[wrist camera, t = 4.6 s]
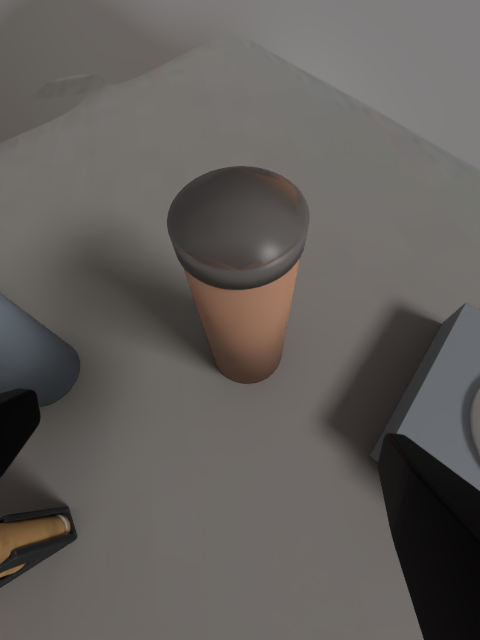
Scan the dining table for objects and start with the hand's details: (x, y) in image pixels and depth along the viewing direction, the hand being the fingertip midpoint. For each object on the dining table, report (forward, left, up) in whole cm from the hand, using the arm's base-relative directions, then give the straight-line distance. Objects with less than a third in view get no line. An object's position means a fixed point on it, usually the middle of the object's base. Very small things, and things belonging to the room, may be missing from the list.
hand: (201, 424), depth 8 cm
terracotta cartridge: (+3, +7, -13) cm, 15 cm away
